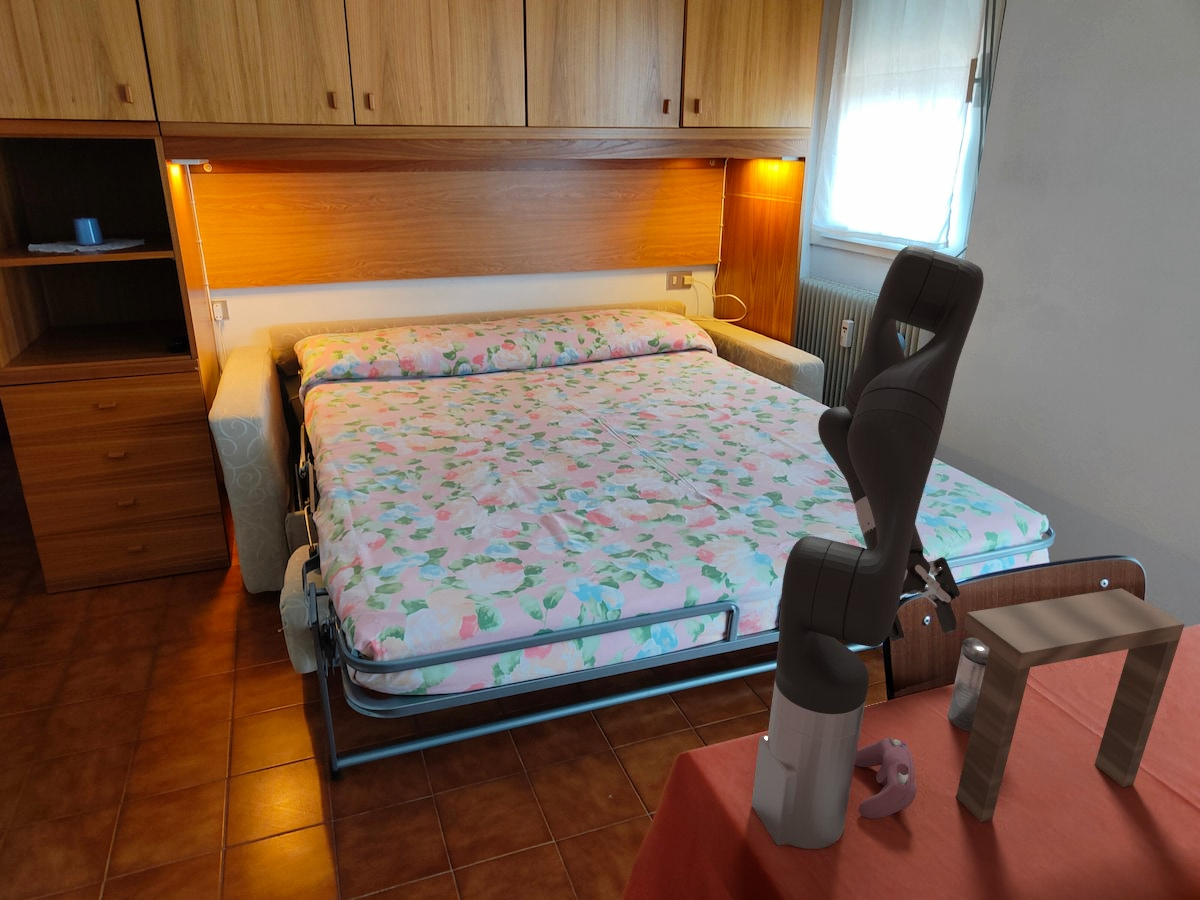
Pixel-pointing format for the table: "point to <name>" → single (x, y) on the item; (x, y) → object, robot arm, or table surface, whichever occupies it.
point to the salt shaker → (968, 683)
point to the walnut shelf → (1059, 637)
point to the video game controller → (888, 777)
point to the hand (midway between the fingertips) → (924, 635)
